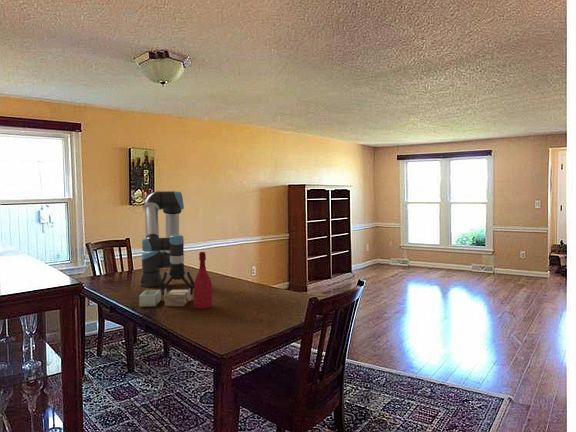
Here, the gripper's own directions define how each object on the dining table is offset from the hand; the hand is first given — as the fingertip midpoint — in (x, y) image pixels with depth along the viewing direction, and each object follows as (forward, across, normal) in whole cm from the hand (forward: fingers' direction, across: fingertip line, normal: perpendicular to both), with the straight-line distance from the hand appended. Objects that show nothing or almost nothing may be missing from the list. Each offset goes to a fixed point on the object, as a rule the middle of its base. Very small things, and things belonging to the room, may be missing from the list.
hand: (177, 300), depth 239 cm
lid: (+2, 0, 0) cm, 2 cm away
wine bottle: (+2, +15, -11) cm, 19 cm away
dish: (+1, -15, 0) cm, 15 cm away
